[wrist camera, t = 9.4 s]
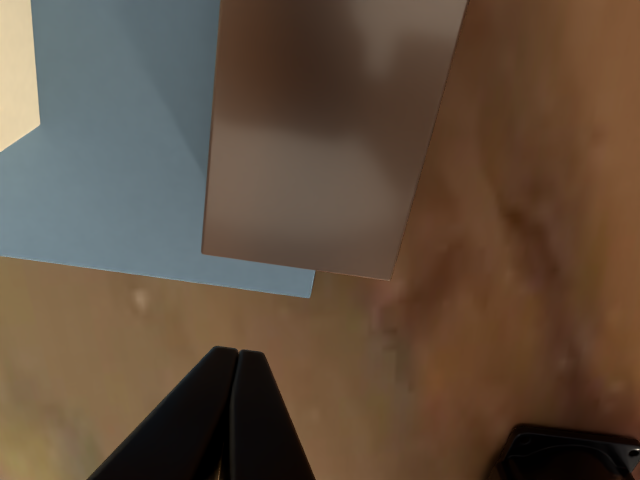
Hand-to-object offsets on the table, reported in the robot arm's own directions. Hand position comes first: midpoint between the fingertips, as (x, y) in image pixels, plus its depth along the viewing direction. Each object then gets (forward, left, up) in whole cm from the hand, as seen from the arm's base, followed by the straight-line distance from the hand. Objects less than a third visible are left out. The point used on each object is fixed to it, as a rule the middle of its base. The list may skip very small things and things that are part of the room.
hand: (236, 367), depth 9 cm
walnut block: (-1, -2, -11) cm, 12 cm away
